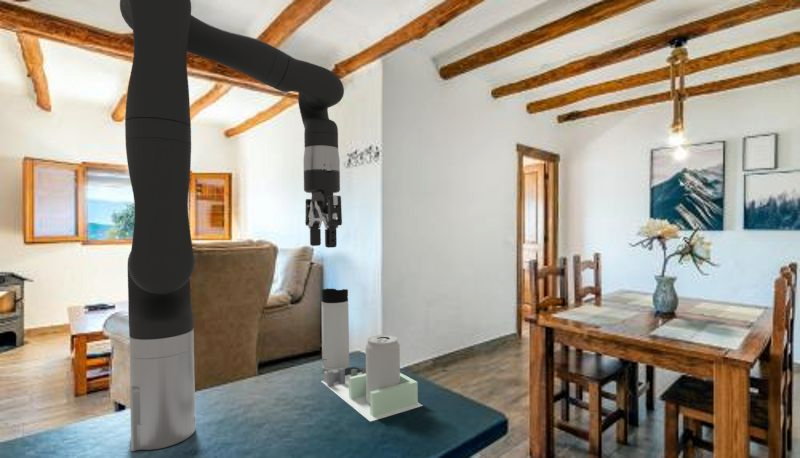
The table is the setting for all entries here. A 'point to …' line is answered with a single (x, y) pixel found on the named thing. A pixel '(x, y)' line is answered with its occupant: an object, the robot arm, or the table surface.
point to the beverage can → (382, 363)
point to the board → (341, 388)
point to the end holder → (385, 394)
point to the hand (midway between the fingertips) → (322, 246)
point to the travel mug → (335, 329)
